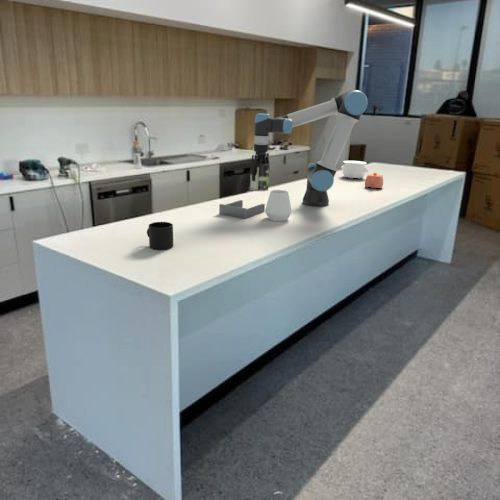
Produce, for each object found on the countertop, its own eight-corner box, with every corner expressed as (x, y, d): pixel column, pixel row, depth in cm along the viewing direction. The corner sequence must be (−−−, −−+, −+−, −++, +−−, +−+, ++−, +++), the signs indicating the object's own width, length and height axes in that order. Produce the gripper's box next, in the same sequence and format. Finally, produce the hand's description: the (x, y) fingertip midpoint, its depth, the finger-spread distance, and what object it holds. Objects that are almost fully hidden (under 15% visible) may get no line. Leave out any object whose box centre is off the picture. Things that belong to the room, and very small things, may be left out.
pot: (335, 177, 357) (336, 161, 353) (344, 175, 370) (346, 159, 366) (362, 181, 345) (363, 164, 341) (370, 178, 358) (372, 162, 354)
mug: (155, 240, 191) (154, 219, 188) (178, 245, 186) (177, 224, 183) (139, 246, 183) (138, 224, 180) (162, 251, 178) (162, 229, 175)
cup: (294, 217, 235) (295, 190, 230) (287, 223, 223) (289, 195, 218) (269, 214, 239) (270, 188, 234) (261, 220, 227) (262, 192, 222)
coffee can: (269, 188, 255) (271, 163, 250) (266, 192, 245) (268, 165, 241) (251, 187, 257) (252, 161, 252) (247, 190, 247) (248, 164, 243)
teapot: (384, 187, 324) (386, 172, 321) (378, 191, 310) (379, 175, 306) (368, 185, 330) (370, 170, 326) (361, 189, 315) (363, 173, 311)
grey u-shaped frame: (264, 211, 245) (264, 202, 243) (244, 218, 229) (244, 209, 227) (240, 207, 252) (240, 198, 251) (219, 214, 237) (219, 204, 235)
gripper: (265, 142, 254) (263, 181, 261) (243, 144, 236) (242, 187, 243) (277, 143, 250) (275, 183, 258) (256, 145, 232) (254, 189, 239)
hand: (259, 185), depth 250 cm, fingers closed on coffee can, 10 cm apart
